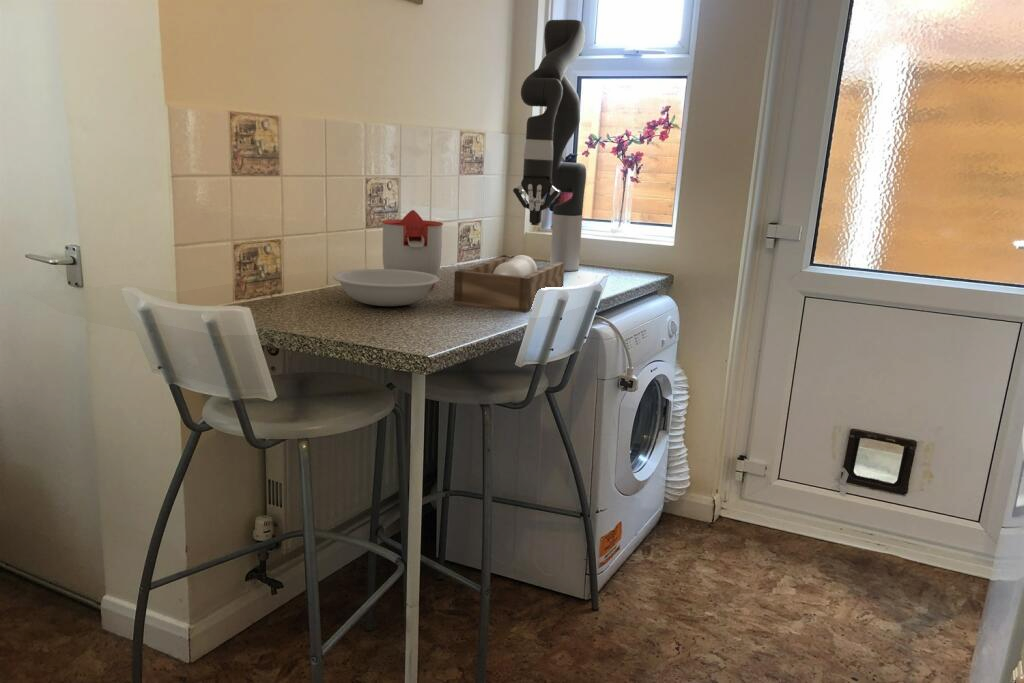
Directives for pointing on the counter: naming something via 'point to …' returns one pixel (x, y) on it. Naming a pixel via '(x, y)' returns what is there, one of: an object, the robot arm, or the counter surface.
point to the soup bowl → (386, 285)
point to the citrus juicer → (412, 244)
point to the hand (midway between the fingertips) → (534, 224)
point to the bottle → (517, 266)
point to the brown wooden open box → (503, 286)
